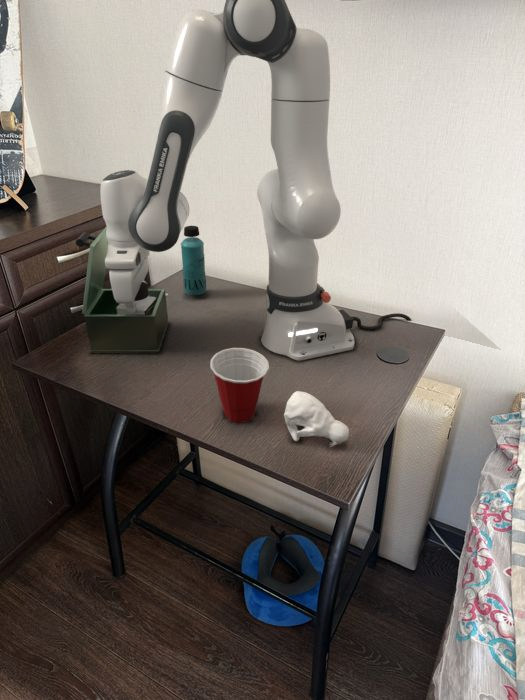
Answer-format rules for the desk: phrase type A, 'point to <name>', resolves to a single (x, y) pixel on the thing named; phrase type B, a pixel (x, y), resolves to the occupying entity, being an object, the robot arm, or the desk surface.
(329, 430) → the white figurine
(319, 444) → the desk surface
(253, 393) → the plastic cup
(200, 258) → the beverage bottle
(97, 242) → the lid
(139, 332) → the green open box
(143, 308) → the medicine bottle
